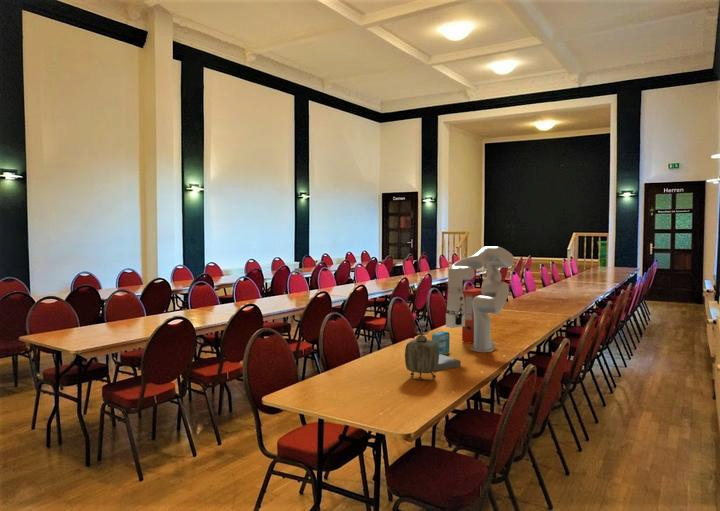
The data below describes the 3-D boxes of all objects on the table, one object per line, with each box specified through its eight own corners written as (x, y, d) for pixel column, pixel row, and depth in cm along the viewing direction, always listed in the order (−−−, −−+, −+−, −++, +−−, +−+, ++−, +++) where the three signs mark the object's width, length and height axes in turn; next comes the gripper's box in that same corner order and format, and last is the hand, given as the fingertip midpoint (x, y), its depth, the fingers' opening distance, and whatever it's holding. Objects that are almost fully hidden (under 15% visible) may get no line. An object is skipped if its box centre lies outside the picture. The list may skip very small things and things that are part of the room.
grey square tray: (441, 359, 282) (441, 354, 282) (460, 366, 268) (460, 360, 267) (416, 363, 274) (416, 357, 274) (435, 370, 260) (435, 364, 260)
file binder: (486, 338, 334) (486, 288, 333) (474, 343, 321) (474, 291, 319) (474, 337, 339) (474, 288, 338) (462, 341, 326) (462, 290, 324)
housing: (459, 324, 287) (459, 310, 287) (465, 326, 283) (465, 311, 282) (445, 326, 283) (445, 311, 283) (451, 328, 279) (451, 313, 278)
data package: (438, 356, 289) (438, 335, 288) (431, 355, 292) (431, 334, 291) (449, 352, 298) (449, 331, 298) (442, 351, 301) (442, 330, 301)
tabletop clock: (438, 377, 247) (438, 325, 246) (433, 383, 239) (433, 328, 238) (409, 374, 253) (409, 323, 252) (403, 379, 245) (403, 326, 244)
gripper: (471, 291, 276) (471, 325, 277) (451, 288, 291) (451, 320, 292) (460, 292, 273) (460, 327, 274) (440, 289, 288) (440, 322, 289)
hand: (455, 323), depth 283 cm, fingers closed on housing, 5 cm apart
